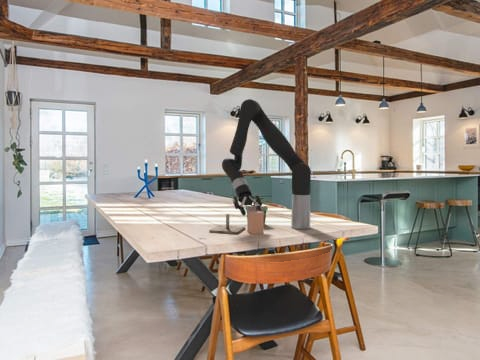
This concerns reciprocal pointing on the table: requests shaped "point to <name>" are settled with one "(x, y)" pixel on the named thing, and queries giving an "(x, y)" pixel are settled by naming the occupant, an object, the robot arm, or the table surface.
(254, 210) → the food container
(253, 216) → the salmon pink block
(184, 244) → the table surface
